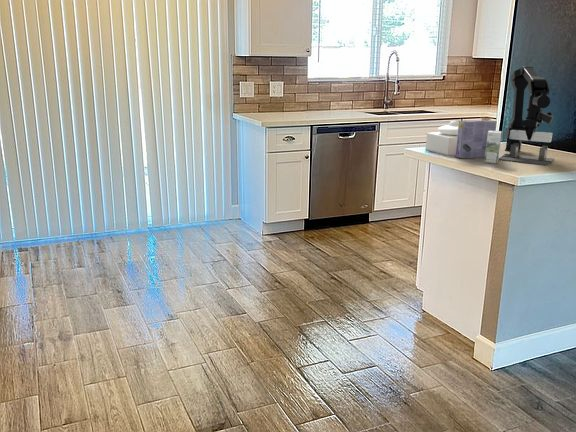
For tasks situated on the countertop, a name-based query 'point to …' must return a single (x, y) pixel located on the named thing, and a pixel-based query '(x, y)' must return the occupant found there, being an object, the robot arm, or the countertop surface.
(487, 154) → the syrup box
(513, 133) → the steel bar
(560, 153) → the countertop surface
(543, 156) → the hook posts
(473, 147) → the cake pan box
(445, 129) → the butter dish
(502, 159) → the mat
